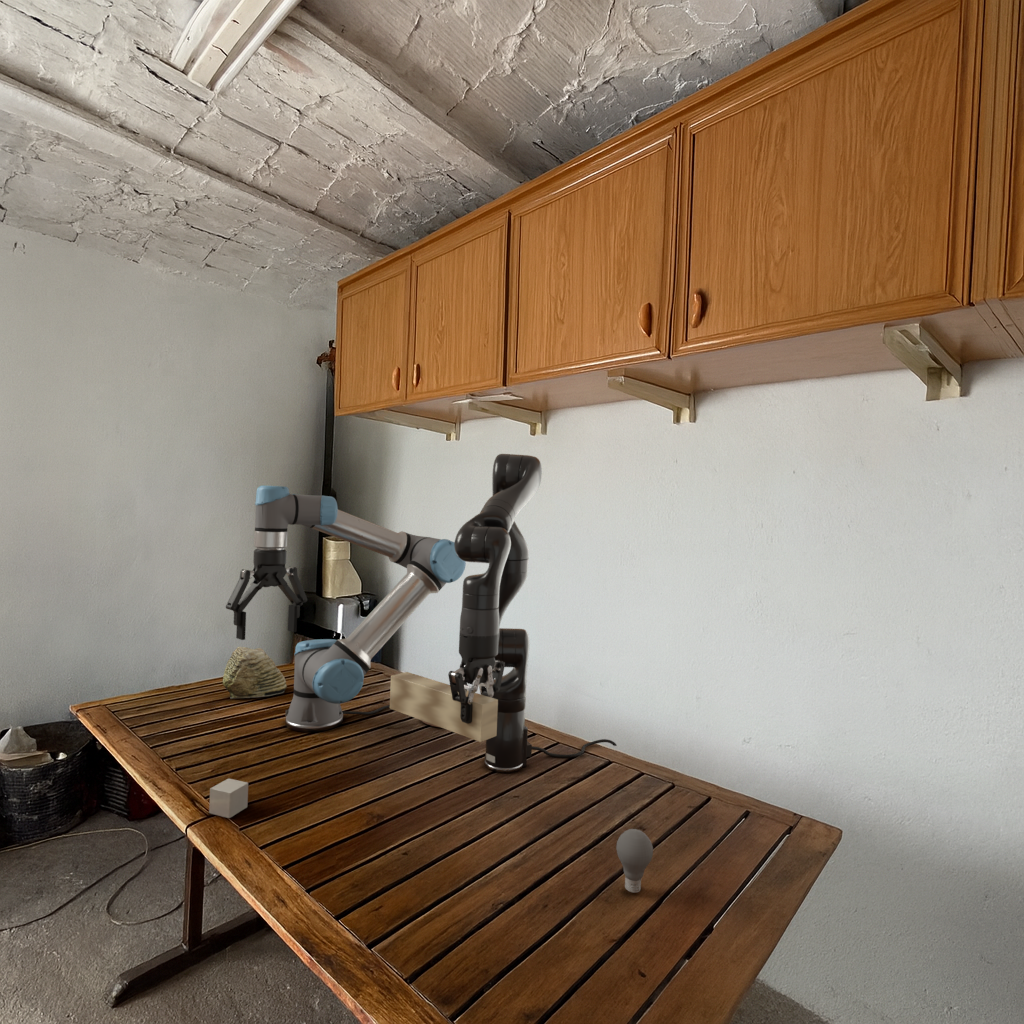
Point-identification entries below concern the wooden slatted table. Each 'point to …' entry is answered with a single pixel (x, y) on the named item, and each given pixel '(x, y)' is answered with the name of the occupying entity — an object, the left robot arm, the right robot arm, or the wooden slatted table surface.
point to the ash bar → (442, 706)
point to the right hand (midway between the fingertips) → (475, 718)
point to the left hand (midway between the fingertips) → (267, 635)
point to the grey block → (228, 798)
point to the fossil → (252, 674)
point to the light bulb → (634, 857)
